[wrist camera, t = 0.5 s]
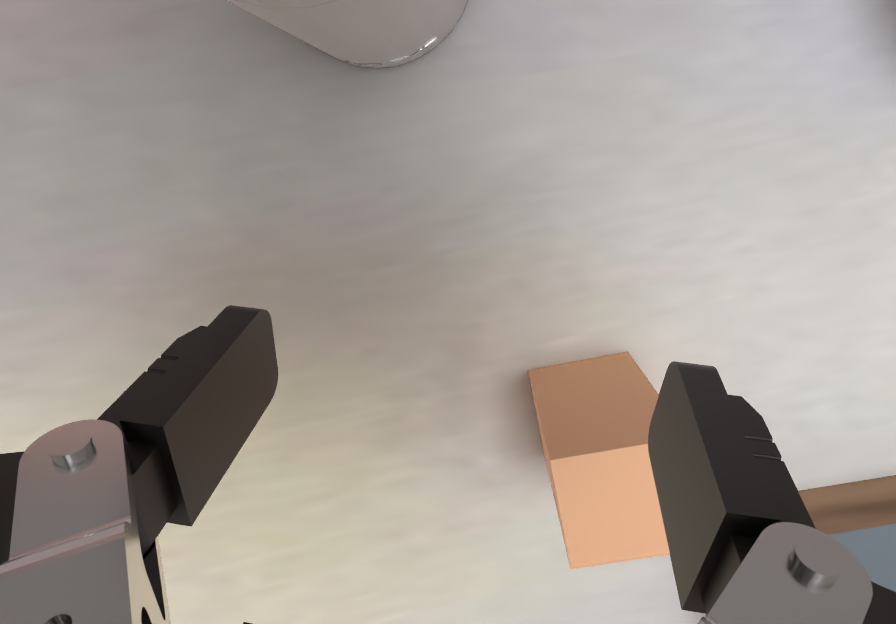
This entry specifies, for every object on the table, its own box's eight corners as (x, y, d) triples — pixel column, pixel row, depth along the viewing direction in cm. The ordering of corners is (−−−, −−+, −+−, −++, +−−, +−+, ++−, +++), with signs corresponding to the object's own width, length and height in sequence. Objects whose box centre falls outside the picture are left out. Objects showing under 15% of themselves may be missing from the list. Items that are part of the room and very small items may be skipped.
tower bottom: (701, 501, 34) (731, 548, 30) (949, 461, 33) (1012, 505, 29) (715, 629, 37) (743, 686, 33) (943, 597, 36) (999, 653, 32)
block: (527, 370, 32) (550, 460, 23) (627, 351, 31) (688, 436, 22) (544, 455, 33) (570, 569, 25) (639, 438, 33) (700, 549, 24)
